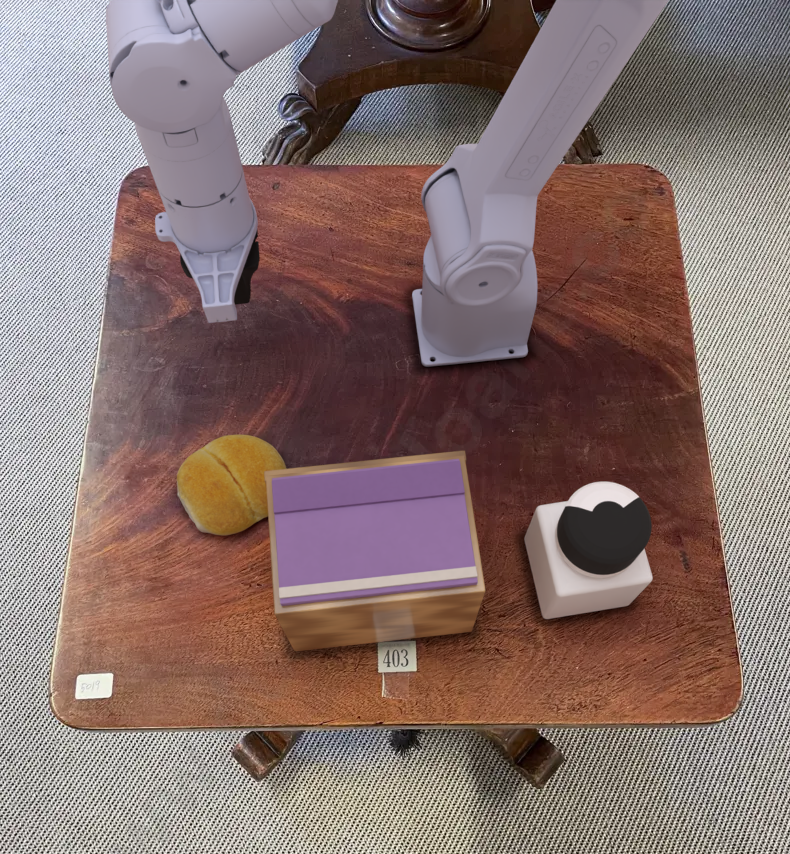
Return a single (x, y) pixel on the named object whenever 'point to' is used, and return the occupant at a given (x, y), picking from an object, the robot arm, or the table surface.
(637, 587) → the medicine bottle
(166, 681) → the table surface
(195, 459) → the bread roll
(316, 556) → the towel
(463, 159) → the robot arm
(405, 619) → the crate
